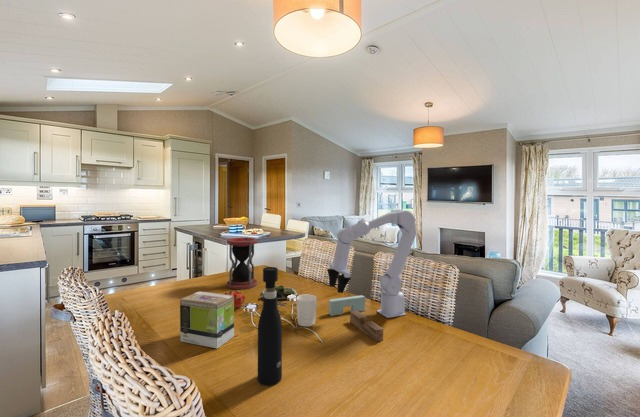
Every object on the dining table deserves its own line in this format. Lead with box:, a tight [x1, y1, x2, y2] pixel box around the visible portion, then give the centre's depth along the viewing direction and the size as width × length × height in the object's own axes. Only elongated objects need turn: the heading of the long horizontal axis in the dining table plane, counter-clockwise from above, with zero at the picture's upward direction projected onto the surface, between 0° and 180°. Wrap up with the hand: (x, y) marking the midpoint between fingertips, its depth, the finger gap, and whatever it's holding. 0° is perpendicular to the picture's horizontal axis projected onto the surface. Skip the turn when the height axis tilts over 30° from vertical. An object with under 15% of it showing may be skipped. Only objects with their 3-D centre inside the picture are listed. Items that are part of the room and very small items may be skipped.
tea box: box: [179, 290, 235, 349], centre depth 105 cm, size 15×10×15 cm, turn 71°
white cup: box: [296, 293, 318, 327], centre depth 119 cm, size 8×8×10 cm
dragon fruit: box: [224, 289, 246, 311], centre depth 133 cm, size 8×8×12 cm
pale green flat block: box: [328, 294, 366, 317], centre depth 131 cm, size 16×2×6 cm, turn 113°
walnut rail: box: [349, 310, 384, 343], centre depth 113 cm, size 3×18×4 cm, turn 23°
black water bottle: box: [257, 266, 283, 387], centre depth 82 cm, size 6×6×30 cm
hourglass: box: [226, 237, 258, 290], centre depth 167 cm, size 16×16×25 cm
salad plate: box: [260, 284, 298, 302], centre depth 153 cm, size 19×18×5 cm
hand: (335, 289), depth 127 cm, fingers open, 7 cm apart
